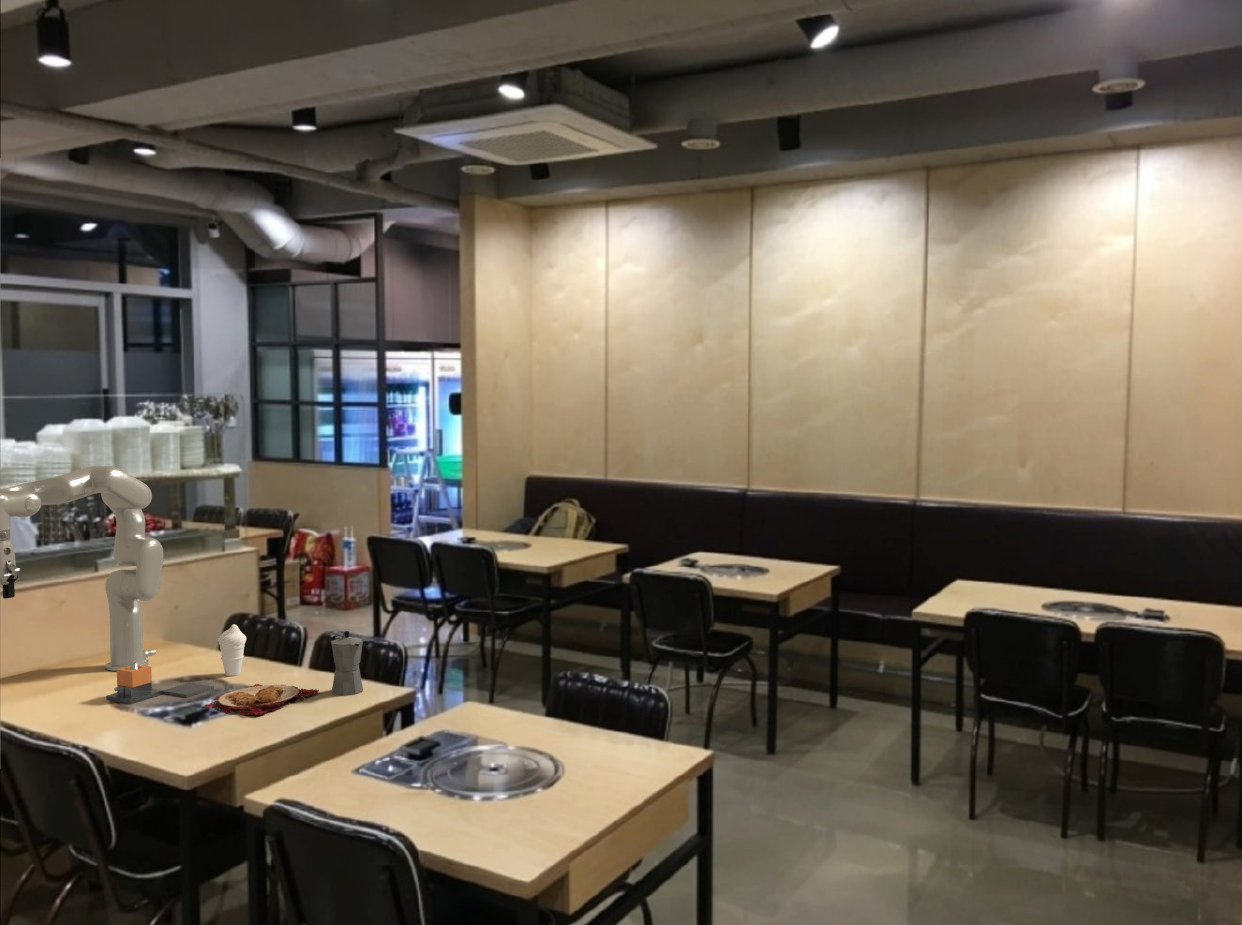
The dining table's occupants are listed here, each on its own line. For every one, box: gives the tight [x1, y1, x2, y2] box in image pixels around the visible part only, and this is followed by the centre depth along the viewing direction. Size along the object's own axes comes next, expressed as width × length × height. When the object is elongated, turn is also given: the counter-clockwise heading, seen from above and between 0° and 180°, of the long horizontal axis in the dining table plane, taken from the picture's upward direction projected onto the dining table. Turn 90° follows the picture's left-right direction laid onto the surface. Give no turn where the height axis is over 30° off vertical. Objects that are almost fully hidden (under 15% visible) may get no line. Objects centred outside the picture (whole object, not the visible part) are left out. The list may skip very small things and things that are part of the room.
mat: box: [163, 682, 215, 698], centre depth 296 cm, size 10×10×1 cm
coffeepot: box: [330, 630, 364, 696], centre depth 296 cm, size 15×9×18 cm, turn 44°
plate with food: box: [201, 683, 320, 716], centre depth 286 cm, size 24×26×4 cm
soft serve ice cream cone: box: [217, 624, 247, 677], centre depth 315 cm, size 8×8×16 cm
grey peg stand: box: [105, 662, 164, 705], centre depth 289 cm, size 11×10×10 cm
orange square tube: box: [116, 665, 153, 687], centre depth 289 cm, size 6×6×4 cm
